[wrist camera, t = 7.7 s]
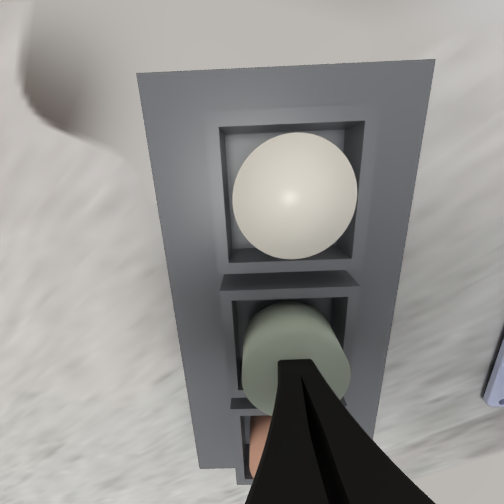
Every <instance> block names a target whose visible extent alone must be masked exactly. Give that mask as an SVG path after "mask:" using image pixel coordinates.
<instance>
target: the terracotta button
mask: <svg viewBox="0 0 504 504" xmlns="http://www.w3.org/2000/svg"><path fill="white" fill-rule="evenodd" d="M271 418H272V416H271V415H261V416H251V417H250V453H249V468H250V472H251V475H252V477H253V478H254V477H255V474H256V471H257V468H258V465H259V462H260V459H261V456H262V452H263V449H264V446H265V442H266V439H267V435H268V431H269V427H270V423H271Z"/></svg>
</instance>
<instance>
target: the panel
mask: <svg viewBox="0 0 504 504" xmlns="http://www.w3.org/2000/svg"><path fill="white" fill-rule="evenodd" d="M435 60H436V59H425V60H404V61H384V62H362V63H342V64H321V65H300V66H278V67H257V68H236V69H216V70H215V69H214V70H193V71H174V72H173V71H172V72H152V73H136V74H137V81H138V87H139V92H140V99H141V106H142V111H143V118H144V124H145V130H146V137H147V143H148V149H149V155H150V161H151V168H152V174H153V180H154V186H155V192H156V199H157V205H158V212H159V218H160V224H161V230H162V236H163V243H164V249H165V255H166V261H167V268H168V274H169V280H170V286H171V293H172V299H173V305H174V311H175V318H176V324H177V330H178V336H179V343H180V349H181V355H182V361H183V367H184V374H185V380H186V386H187V392H188V399H189V405H190V411H191V417H192V424H193V430H194V436H195V442H196V449H197V455H198V461H199V467H200V469H214V468H235V469H236V480H237V485H252V483H253V480H254V478H253V477H252V475H251V472H250V468H249V453H250V417H251V416H261V415H268V414H266V413H264V412H262V411H261V410H259V409H258V408H256V407H255V406H254V405H253V404H252V403H251V402H250V401H249V399H248V398H247V396H246V395H245V393H244V390H243V387H242V361H243V342H244V333H245V330H246V327H247V325H248V323H249V322H250V320H251V319H252V318H253V316H254V315H255V314H257V313H258V312H259V311H260V310H262V309H263V308H265V307H267V306H269V305H272V304H275V303H279V302H286V301H294V302H301V303H305V304H308V305H310V306H312V307H314V308H316V309H317V310H319V311H320V312H321V313H322V314H323V315H324V316H325V317H326V319H327V320H328V322H329V324H330V326H331V328H332V330H333V332H334V334H335V336H336V338H337V340H338V342H339V344H340V346H341V348H342V350H343V352H344V354H345V356H346V358H347V360H348V362H349V365H350V370H351V379H350V384H349V387H348V389H347V391H346V393H345V395H344V396H343V397H342V399H341V400H340V401H341V402H342V404H343V405H344V406H345V407H346V409H347V410H348V411H349V413H350V414H351V415H352V416H353V418H354V419H355V420H356V421H357V422H358V424H359V425H360V426H361V427H362V428H363V430H364V431H365V432H366V433H367V434H368V435H369V437H370V438H371V439H372V440H373V434H374V428H375V422H376V416H377V410H378V404H379V398H380V392H381V386H382V380H383V374H384V368H385V362H386V356H387V350H388V344H389V338H390V332H391V326H392V320H393V314H394V308H395V301H396V295H397V289H398V283H399V277H400V271H401V265H402V259H403V253H404V247H405V241H406V235H407V229H408V223H409V217H410V211H411V205H412V199H413V193H414V187H415V181H416V175H417V169H418V163H419V157H420V150H421V144H422V138H423V132H424V126H425V120H426V114H427V108H428V102H429V96H430V90H431V84H432V78H433V72H434V66H435ZM295 132H299V133H309V134H314V135H317V136H320V137H322V138H324V139H326V140H328V141H330V142H331V143H333V144H334V145H336V146H337V147H338V148H339V149H340V150H341V151H342V152H343V154H344V155H345V156H346V157H347V159H348V161H349V162H350V164H351V166H352V169H353V171H354V174H355V178H356V182H357V202H356V207H355V211H354V214H353V217H352V219H351V221H350V223H349V225H348V227H347V229H346V230H345V231H344V233H343V234H342V235H341V236H340V238H339V239H338V240H337V241H336V242H335V243H333V244H332V245H331V246H330V247H328V248H327V249H325V250H324V251H322V252H320V253H318V254H316V255H313V256H310V257H306V258H301V259H282V258H277V257H273V256H270V255H268V254H266V253H264V252H262V251H260V250H259V249H257V248H256V247H255V246H253V245H252V244H251V243H250V242H249V241H248V240H247V239H246V237H245V236H244V235H243V233H242V232H241V230H240V228H239V226H238V224H237V222H236V219H235V215H234V211H233V204H232V195H233V187H234V183H235V179H236V177H237V174H238V172H239V170H240V168H241V166H242V164H243V163H244V161H245V160H246V159H247V157H248V156H249V155H250V154H251V153H252V152H253V151H254V150H255V149H256V148H257V147H258V146H260V145H261V144H262V143H264V142H266V141H267V140H269V139H271V138H274V137H276V136H279V135H283V134H286V133H295Z"/></svg>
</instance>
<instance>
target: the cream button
mask: <svg viewBox="0 0 504 504" xmlns="http://www.w3.org/2000/svg"><path fill="white" fill-rule="evenodd" d="M356 202H357V182H356V178H355V174H354V171H353V169H352V166H351V164H350V162H349V161H348V159H347V157H346V156H345V155H344V154H343V152H342V151H341V150H340V149H339V148H338V147H337V146H336V145H334V144H333V143H331V142H330V141H328V140H326V139H324V138H322V137H320V136H317V135H314V134H309V133H299V132H295V133H286V134H283V135H279V136H276V137H274V138H271V139H269V140H267V141H266V142H264V143H262V144H261V145H260V146H258V147H257V148H256V149H255V150H254V151H253V152H252V153H251V154H250V155H249V156H248V157H247V159H246V160H245V161H244V163H243V164H242V166H241V168H240V170H239V172H238V174H237V177H236V179H235V183H234V187H233V195H232V204H233V211H234V215H235V219H236V222H237V224H238V226H239V228H240V230H241V232H242V233H243V235H244V236H245V237H246V239H247V240H248V241H249V242H250V243H251V244H252V245H253V246H255V247H256V248H257V249H259V250H260V251H262V252H264V253H266V254H268V255H270V256H273V257H277V258H282V259H301V258H306V257H310V256H313V255H316V254H318V253H320V252H322V251H324V250H325V249H327V248H328V247H330V246H331V245H332V244H333V243H335V242H336V241H337V240H338V239H339V238H340V236H341V235H342V234H343V233H344V231H345V230H346V229H347V227H348V225H349V223H350V221H351V219H352V217H353V214H354V211H355V207H356Z"/></svg>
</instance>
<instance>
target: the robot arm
mask: <svg viewBox="0 0 504 504" xmlns="http://www.w3.org/2000/svg"><path fill="white" fill-rule="evenodd" d="M483 400H484V402H485V403H486V404H487V405H488V406H490V407H504V339H503V342H502V345H501V348H500V350H499V353H498V356H497V359H496V362H495V365H494V368H493V371H492V374H491V377H490V380H489V383H488V386H487V388H486V391H485V394H484V397H483ZM245 504H435V503H434V502H433V501H432V500H431V499H430V498H429V497H428V496H427V495H426V494H425V493H424V492H423V491H421V490H420V489H419V488H418V487H417V486H416V485H415V484H414V483H413V482H412V481H411V480H410V479H409V478H408V477H407V476H406V475H405V474H404V473H403V472H402V471H401V470H400V469H399V468H398V467H397V466H396V465H395V464H394V463H393V462H392V461H391V460H390V458H389V457H388V456H387V455H386V454H385V453H384V452H383V451H382V450H381V449H380V448H379V447H378V446H377V444H376V443H375V442H374V441H373V440H372V439H371V438H370V437H369V435H368V434H367V433H366V432H365V431H364V430H363V428H362V427H361V426H360V425H359V424H358V422H357V421H356V420H355V419H354V418H353V416H352V415H351V414H350V413H349V411H348V410H347V409H346V407H345V406H344V405H343V404H342V402H341V401H340V400H339V398H338V397H337V396H336V394H335V393H334V392H333V390H332V389H331V387H330V386H329V385H328V383H327V382H326V380H325V379H324V377H323V376H322V374H321V373H320V371H319V370H318V368H317V367H316V365H315V363H314V362H313V361H312V360H311V359H290V360H280V361H278V385H277V392H276V398H275V404H274V410H273V414H272V418H271V423H270V427H269V431H268V435H267V439H266V442H265V446H264V449H263V452H262V456H261V459H260V462H259V465H258V468H257V471H256V474H255V477H254V480H253V483H252V486H251V489H250V491H249V494H248V497H247V500H246V502H245Z"/></svg>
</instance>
